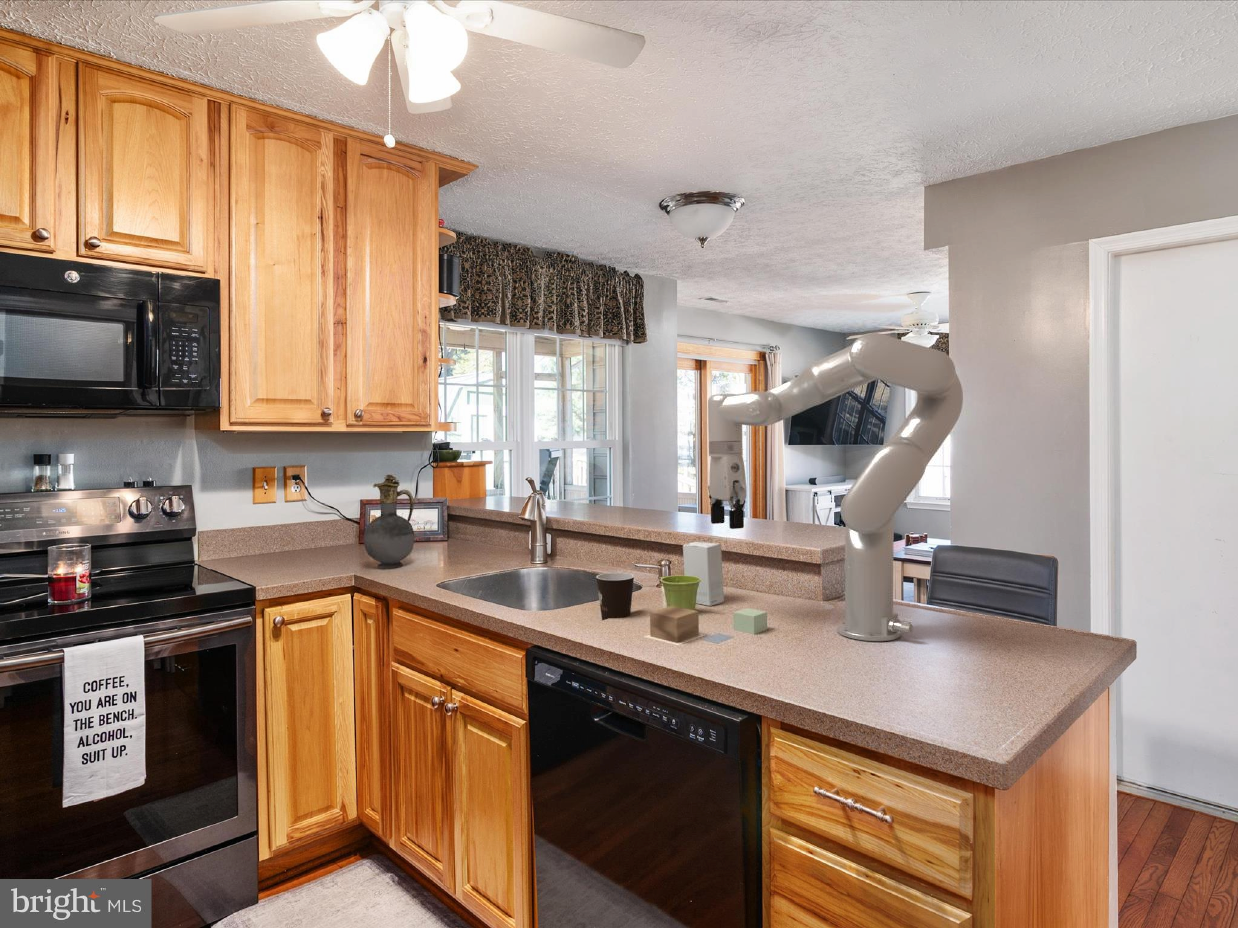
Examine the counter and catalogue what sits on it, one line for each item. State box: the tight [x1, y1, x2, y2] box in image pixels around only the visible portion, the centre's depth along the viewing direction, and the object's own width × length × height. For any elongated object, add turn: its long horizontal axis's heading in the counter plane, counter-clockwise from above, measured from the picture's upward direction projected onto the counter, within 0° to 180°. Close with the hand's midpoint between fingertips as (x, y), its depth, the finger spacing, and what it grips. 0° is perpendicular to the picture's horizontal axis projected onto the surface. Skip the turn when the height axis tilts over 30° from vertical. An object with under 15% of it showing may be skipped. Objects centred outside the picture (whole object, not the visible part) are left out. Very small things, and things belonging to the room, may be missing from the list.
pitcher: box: [363, 474, 415, 570], centre depth 237 cm, size 11×19×30 cm, turn 153°
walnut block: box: [649, 606, 700, 643], centre depth 148 cm, size 7×7×5 cm
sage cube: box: [733, 607, 768, 635], centre depth 152 cm, size 5×5×5 cm
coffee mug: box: [595, 572, 635, 621], centre depth 168 cm, size 12×9×10 cm
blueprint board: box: [643, 632, 735, 646], centre depth 148 cm, size 20×16×1 cm
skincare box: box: [682, 541, 725, 607], centre depth 182 cm, size 8×6×15 cm
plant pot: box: [660, 574, 701, 611], centre depth 169 cm, size 9×9×9 cm
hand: (726, 525), depth 163 cm, fingers open, 9 cm apart
